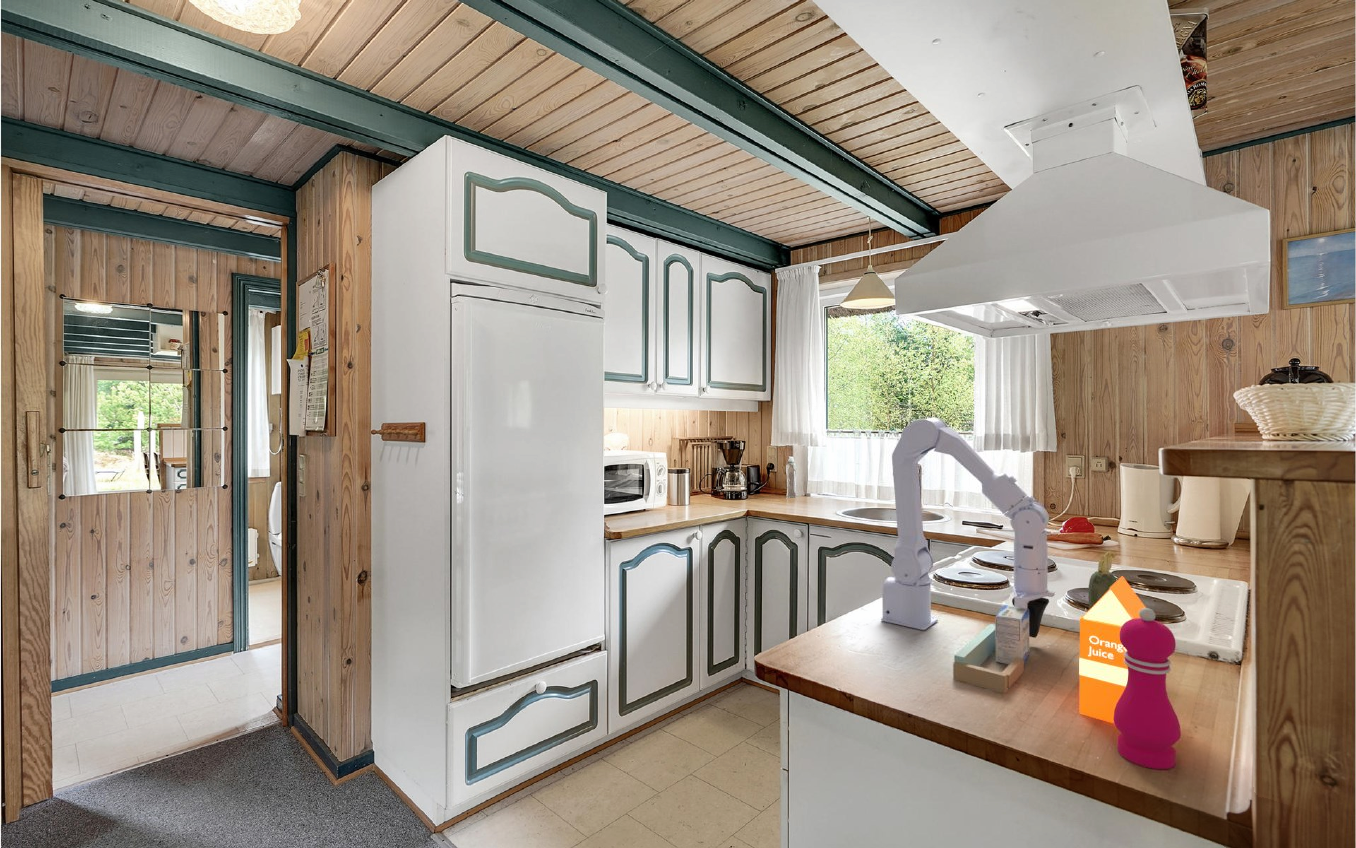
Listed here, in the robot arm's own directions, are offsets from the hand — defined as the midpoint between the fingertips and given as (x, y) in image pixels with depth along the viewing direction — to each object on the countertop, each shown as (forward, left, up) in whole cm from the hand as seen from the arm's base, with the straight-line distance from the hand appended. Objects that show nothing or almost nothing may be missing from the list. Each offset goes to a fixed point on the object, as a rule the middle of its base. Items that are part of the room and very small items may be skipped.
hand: (1030, 635), depth 124 cm
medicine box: (-1, -9, -2) cm, 9 cm away
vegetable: (+12, +1, -2) cm, 12 cm away
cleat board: (-2, -15, -2) cm, 15 cm away
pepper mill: (+22, -33, -2) cm, 39 cm away
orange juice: (+17, -21, -2) cm, 27 cm away
